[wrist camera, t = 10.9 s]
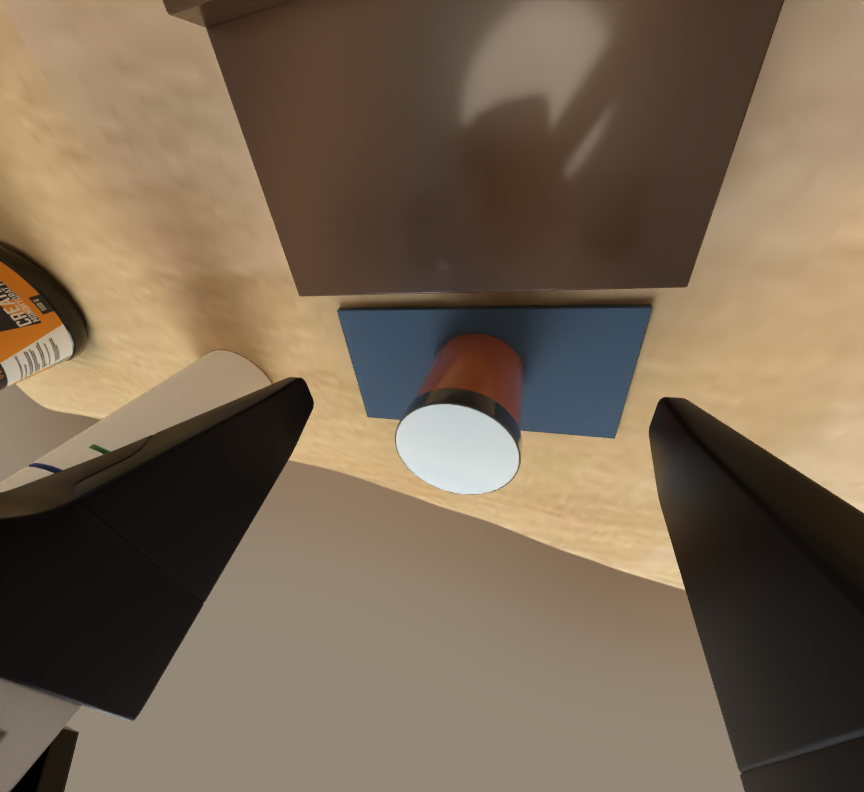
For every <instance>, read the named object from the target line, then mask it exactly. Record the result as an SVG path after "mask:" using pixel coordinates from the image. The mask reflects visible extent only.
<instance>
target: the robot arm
mask: <svg viewBox="0 0 864 792" xmlns="http://www.w3.org/2000/svg"><path fill="white" fill-rule="evenodd" d="M313 406H314V402H313V398H312V396H311V394H310V391H309V389H308V386H307V384H306V382H305V381H304V379H302V378H296V377H289V378H286V379H283V380H281V381H279V382H276V383H274V384H271V385H269V386H267V387H264V388H262V389H260V390H257V391H255V392H252V393H250V394H248V395H245V396H243V397H241V398H238V399H236V400H233V401H231V402H229V403H226V404H224V405H221V406H219V407H217V408H214V409H212V410H210V411H207V412H205V413H202V414H200V415H198V416H195V417H193V418H191V419H188V420H186V421H183V422H181V423H179V424H176V425H174V426H172V427H169V428H167V429H164V430H162V431H160V432H157V433H155V435H150V436H148V437H145V438H143V439H140V440H138V441H136V442H133V443H131V444H128V445H126V446H123V447H121V448H119V449H116V450H114V451H111V452H109V453H106V454H104V455H101V456H98V457H96V458H93V459H91V460H88V461H86V462H83V463H80V464H78V465H75V466H72V467H70V468H67V469H65V470H62V471H59V472H57V473H54V474H51V475H49V476H46V477H43V478H41V479H38V480H36V481H33V482H30V483H28V484H25V485H22V486H20V487H17V488H14V489H11V490H8V491H4V492H1V493H0V792H64V790H65V785H66V782H67V778H68V773H69V770H70V766H71V762H72V758H73V754H74V749H75V745H76V741H77V737H78V733H79V732H77V731H75V730H73V729H71V728H69V727H67V726H66V724H67V723H68V722H69V720H70V719H71V718H72V717H73V716H74V714H75V713H76V712H77V711H78V709H79V708H80V707H81V706H82V705H83V706H86V707H89V708H92V709H95V710H98V711H101V712H104V713H107V714H110V715H113V716H116V717H119V718H122V719H125V720H128V721H131V722H133V721H134V720H135V719H136V718H137V716H138V715H139V713H140V711H141V710H142V709H143V707H144V705H145V704H146V702H147V700H148V699H149V697H150V695H151V694H152V692H153V690H154V688H155V686H156V685H157V683H158V681H159V680H160V678H161V676H162V675H163V673H164V671H165V669H166V668H167V666H168V665H169V663H170V661H171V659H172V658H173V656H174V654H175V652H176V651H177V649H178V647H179V646H180V644H181V642H182V641H183V639H184V637H185V635H186V634H187V632H188V630H189V629H190V627H191V625H192V623H193V622H194V620H195V618H196V617H197V615H198V613H199V612H200V610H201V608H202V606H203V603H204V602H205V601H206V599H207V597H208V595H209V594H210V592H211V591H212V589H213V587H214V585H215V584H216V582H217V580H218V578H219V577H220V575H221V574H222V572H223V570H224V568H225V567H226V565H227V563H228V562H229V560H230V558H231V556H232V555H233V553H234V551H235V550H236V548H237V546H238V545H239V543H240V541H241V539H242V538H243V536H244V534H245V533H246V531H247V529H248V528H249V526H250V524H251V522H252V521H253V519H254V517H255V516H256V514H257V512H258V510H259V509H260V507H261V505H262V504H263V502H264V500H265V499H266V497H267V495H268V493H269V492H270V490H271V488H272V487H273V485H274V483H275V481H276V480H277V478H278V476H279V474H280V473H281V471H282V470H283V468H284V466H285V464H286V463H287V461H288V459H289V458H290V456H291V454H292V452H293V450H294V448H295V446H296V444H297V442H298V440H299V438H300V436H301V433H302V431H303V429H304V427H305V425H306V422H307V420H308V418H309V416H310V414H311V412H312V409H313ZM649 439H650V446H651V452H652V459H653V465H654V472H655V479H656V485H657V491H658V496H659V501H660V505H661V508H662V512H663V515H664V519H665V522H666V525H667V529H668V532H669V536H670V539H671V542H672V546H673V549H674V552H675V556H676V559H677V563H678V566H679V569H680V573H681V576H682V580H683V583H684V586H685V590H686V593H687V596H688V600H689V603H690V606H691V610H692V613H693V617H694V620H695V623H696V627H697V630H698V634H699V637H700V640H701V644H702V647H703V651H704V654H705V657H706V661H707V664H708V668H709V671H710V674H711V678H712V681H713V685H714V688H715V691H716V695H717V698H718V701H719V705H720V708H721V712H722V715H723V718H724V721H725V725H726V729H727V732H728V735H729V739H730V742H731V745H732V749H733V752H734V755H735V759H736V762H737V765H738V769H739V771H740V772H741V775H740V777H741V780H742V784H743V787H744V791H745V792H864V513H863V512H861V511H860V510H858V509H856V508H855V507H853V506H852V505H850V504H849V503H847V502H845V501H844V500H842V499H841V498H839V497H838V496H836V495H835V494H833V493H831V492H830V491H828V490H827V489H825V488H824V487H822V486H821V485H819V484H817V483H816V482H814V481H813V480H811V479H810V478H808V477H807V476H805V475H803V474H802V473H800V472H799V471H797V470H796V469H794V468H793V467H791V466H789V465H788V464H786V463H785V462H783V461H782V460H780V459H779V458H777V457H775V456H774V455H772V454H771V453H769V452H768V451H766V450H765V449H763V448H761V447H760V446H758V445H757V444H755V443H754V442H752V441H750V440H749V439H747V438H746V437H744V436H743V435H741V434H740V433H738V432H736V431H735V430H733V429H732V428H730V427H729V426H727V425H726V424H724V423H722V422H721V421H719V420H718V419H716V418H715V417H713V416H712V415H710V414H708V413H707V412H705V411H704V410H702V409H701V408H699V407H698V406H696V405H694V404H693V403H691V402H690V401H688V400H686V399H684V398H671V397H664V398H662V399H660V401H659V402H658V405H657V407H656V410H655V413H654V416H653V419H652V421H651V424H650V428H649Z"/></svg>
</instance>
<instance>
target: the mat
mask: <svg viewBox="0 0 864 792" xmlns="http://www.w3.org/2000/svg"><path fill="white" fill-rule="evenodd" d="M651 311H652V306H651V305H593V306H507V307H420V308H340V309H338V310H337V312H338V316H339V319H340V323H341V326H342V329H343V333H344V336H345V340H346V343H347V347H348V350H349V354H350V357H351V361H352V364H353V368H354V371H355V375H356V378H357V381H358V385H359V388H360V392H361V395H362V399H363V402H364V406H365V409H366V413H367V416H368V417H373V418H385V419H396V420H401V418H402V416H403V414H404V412H405V410H406V409H407V407H408V406H409V404H410V403H411V402H412V401H413V399H414V397H415V395H416V393H417V391H418V389H419V387H420V385H421V383H422V381H423V379H424V377H425V375H426V373H427V371H428V369H429V367H430V365H431V363H432V361H433V359H434V357H435V355H436V353H437V352H438V350H439V349H440V348H441V346H442V345H443V344H445V343H446V342H447V341H449V340H450V339H452V338H454V337H456V336H460V335H463V334H469V333H480V334H486V335H490V336H493V337H496V338H498V339H500V340H502V341H504V342H505V343H507V344H508V345H509V346H510V347H511V348H512V349H513V350H514V351H515V352H516V353H517V355H518V356H519V358H520V360H521V362H522V365H523V368H524V390H523V404H522V419H521V430H522V431H534V432H545V433H557V434H568V435H580V436H591V437H603V438H615V436H616V432H617V429H618V425H619V422H620V418H621V415H622V411H623V408H624V405H625V401H626V398H627V394H628V391H629V387H630V384H631V380H632V377H633V373H634V370H635V366H636V363H637V359H638V356H639V352H640V349H641V346H642V342H643V339H644V335H645V332H646V328H647V325H648V321H649V318H650V314H651Z"/></svg>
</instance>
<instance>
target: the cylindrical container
mask: <svg viewBox="0 0 864 792" xmlns="http://www.w3.org/2000/svg"><path fill="white" fill-rule="evenodd" d="M269 385H271V382H270V380H269V379H268V378H267V376H266V375H265V374H264V373H263V372H262V371H261V370H260V369H259V368H258V367H257V366H256V365H254V364H253V363H252V362H250V361H249V360H247V359H246V358H244V357H242V356H240V355H238V354H236V353H233V352H230V351H225V350H217V351H213V352H210V353H208V354H207V355H205V356H204V357H202V358H200V359H199V360H197V361H196V362H194V363H192V364H191V365H189V366H188V367H186V368H184V369H183V370H181V371H179V372H178V373H176V374H175V375H173V376H171V377H170V378H168V379H167V380H165V381H163V382H162V383H160V384H159V385H157V386H155V387H154V388H152V389H150V390H149V391H147V392H146V393H144V394H142V395H141V396H139V397H138V398H136V399H134V400H133V401H131V402H130V403H128V404H126V405H125V406H123V407H121V408H120V409H118V410H117V411H115V412H113V413H112V414H110V415H109V416H107V417H105V418H104V419H102V420H100V421H99V422H97V423H96V424H94V425H93V426H91V427H89V428H88V429H86V430H84V431H83V432H81V433H79V434H78V435H76V436H75V437H73V438H71V439H70V440H68V441H67V442H65V443H63V444H62V445H60V446H59V447H57V448H55V449H54V450H52V451H50V452H49V453H47V454H46V455H44V456H42V457H41V458H39V459H38V460H36V461H34V462H33V463H31V464H30V465H29V467H26V468H23V469H21V470H20V471H18V472H17V473H15V474H13V475H12V476H10V477H8V478H7V479H5V480H4V481H2V482H0V493H1V492H4V491H8V490H11V489H14V488H17V487H20V486H22V485H25V484H28V483H30V482H33V481H36V480H38V479H41V478H43V477H46V476H49V475H51V474H54V473H57V472H59V471H62V470H65V469H67V468H70V467H72V466H75V465H78V464H80V463H83V462H86V461H88V460H91V459H93V458H96V457H98V456H101V455H104V454H106V453H109V452H111V451H114V450H116V449H119V448H121V447H123V446H126V445H128V444H131V443H133V442H136V441H138V440H140V439H143V438H145V437H148V436H150V435H155V433H157V432H160V431H162V430H164V429H167V428H169V427H172V426H174V425H176V424H179V423H181V422H183V421H186V420H188V419H191V418H193V417H195V416H198V415H200V414H202V413H205V412H207V411H210V410H212V409H214V408H217V407H219V406H221V405H224V404H226V403H229V402H231V401H233V400H236V399H238V398H241V397H243V396H245V395H248V394H250V393H252V392H255V391H257V390H260V389H262V388H264V387H267V386H269Z"/></svg>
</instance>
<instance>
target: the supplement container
mask: <svg viewBox="0 0 864 792" xmlns="http://www.w3.org/2000/svg"><path fill="white" fill-rule="evenodd" d="M86 345H87V333H86V329H85V325H84V323H83V321H82V318H81V316H80V314H79V313H78V311H77V309H76V308H75V306H74V305H73V304H72V302H71V301H70V300H69V298H68V297H67V296H66V295H65V293H64V292H63V291H62V290H61V289H60V288H59V287H58V286H57V285H56V284H55V283H54V282H53V281H52V280H51V279H50V278H49V277H48V276H47V275H46V274H45V273H43V272H42V271H41V270H40V269H38V268H37V267H36V266H35V265H33V264H32V263H30V262H29V261H27V260H26V259H24V258H23V257H21V256H19V255H18V254H16V253H14V252H12V251H10V250H8V249H6V248H4V247H1V246H0V390H2V389H4V388H6V387H8V386H11V385H13V384H15V383H17V382H20V381H22V380H24V379H26V378H29V377H31V376H33V375H35V374H37V373H40V372H42V371H44V370H46V369H49V368H51V367H53V366H55V365H57V364H60V363H62V362H64V361H68V360H71V359H73V358H75V357H77V356H79V355H80V354H81V353H82V352H83V351H84V349H85V348H86Z"/></svg>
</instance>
